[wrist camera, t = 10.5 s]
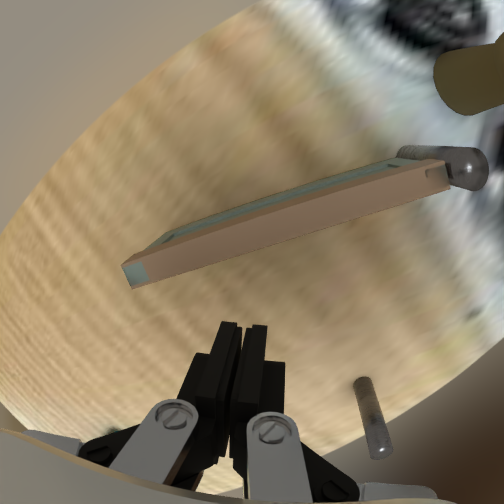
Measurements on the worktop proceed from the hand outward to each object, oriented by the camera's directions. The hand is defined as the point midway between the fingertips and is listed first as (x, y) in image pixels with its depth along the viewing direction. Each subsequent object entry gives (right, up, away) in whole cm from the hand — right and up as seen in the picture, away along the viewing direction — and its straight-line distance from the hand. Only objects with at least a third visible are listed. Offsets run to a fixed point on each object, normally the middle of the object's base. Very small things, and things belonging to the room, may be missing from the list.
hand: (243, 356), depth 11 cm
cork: (+18, +19, +9) cm, 27 cm away
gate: (+3, +8, +12) cm, 15 cm away
